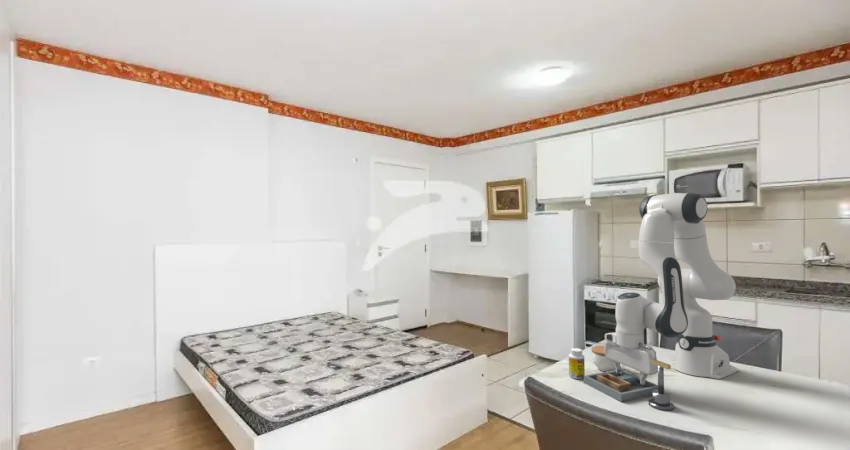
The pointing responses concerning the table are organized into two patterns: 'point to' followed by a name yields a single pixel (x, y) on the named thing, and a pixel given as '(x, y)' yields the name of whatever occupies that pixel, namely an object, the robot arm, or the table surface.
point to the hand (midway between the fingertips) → (630, 378)
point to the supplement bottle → (576, 364)
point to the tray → (635, 392)
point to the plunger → (661, 390)
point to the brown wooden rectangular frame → (618, 381)
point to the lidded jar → (602, 359)
